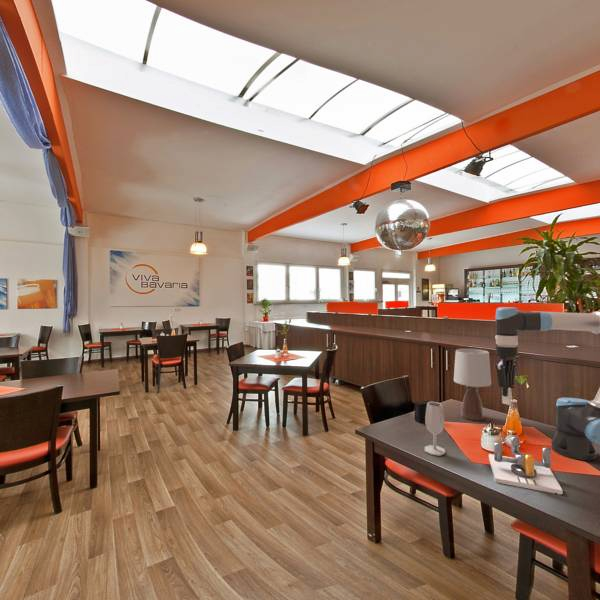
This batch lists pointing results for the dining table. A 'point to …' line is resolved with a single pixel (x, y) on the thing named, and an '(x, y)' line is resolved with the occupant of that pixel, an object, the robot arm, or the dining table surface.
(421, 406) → the electronic device
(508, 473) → the stand plate
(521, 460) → the silver metal piece
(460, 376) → the lamp
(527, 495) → the dining table surface
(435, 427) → the wineglass
